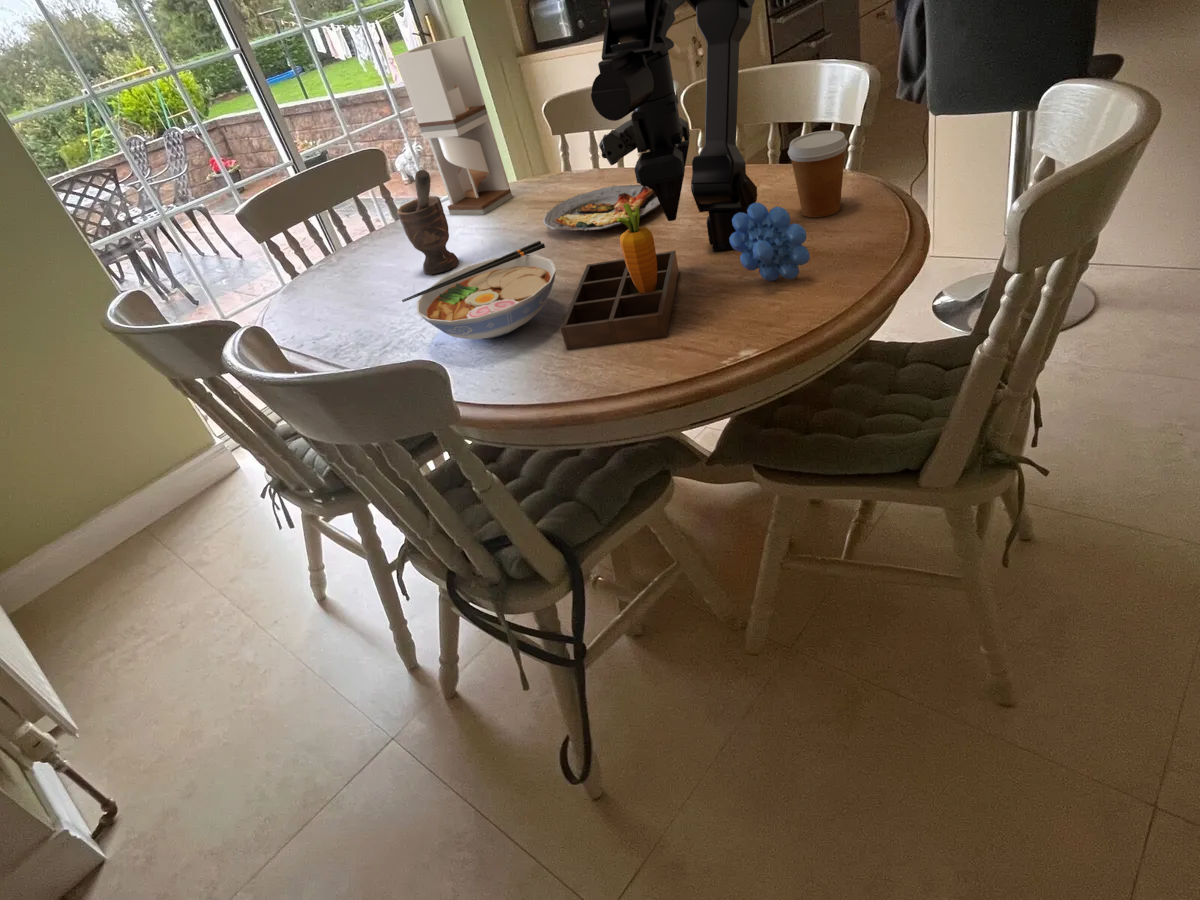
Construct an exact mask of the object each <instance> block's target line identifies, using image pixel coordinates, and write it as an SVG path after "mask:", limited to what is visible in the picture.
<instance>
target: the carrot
mask: <svg viewBox="0 0 1200 900" xmlns="http://www.w3.org/2000/svg"><path fill="white" fill-rule="evenodd" d="M623 207H624V209H625V210H626V212H627V214H628V216H629V217H630V219H629V218H628V217H625V218H617V222H620V223H623V224H622V225H625V226H626V227H627V228H628V229H627V230H625V231H624V232H623V233H621V235H620V236H619V244H620V248H621V252H622V255H623V259H624V260H625V263H626V266H627V269H628V271H629V274H630V276H631V278H632V281H633V283H634V285H635V286H636V288H637V289H638V291H639V293H647V292H654V291H655V289H656V283H657V258H656V254H657V252H656V245H655V239H654V234H653V233H652V231H651V230H650V229H649V228H648V227H647V226H640V212H639V208H638V207H635V212H633V211H632V209H631V207H630V206H629V204H628V203H625V204H624V205H623ZM630 220H631V221H630Z"/></svg>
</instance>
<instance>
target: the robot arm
mask: <svg viewBox="0 0 1200 900" xmlns="http://www.w3.org/2000/svg"><path fill="white" fill-rule="evenodd" d="M686 2H687V4H688V5H689V6H690V7H691V8H692V10H693V11H694V12H695V13H696V25H697V27H698V28H699V30H700V33H701V34H702V35H703V38H704V40H705V42H706V78H705V81H706V82H705V124H704V125H705V126H704V146H703V148H702V149H701V151H700V153H699V155H695V156H693V158H692V161H691V164H692V165H691V169H692V171H691V172H692V174H691V182H690V189H691V194H692V197H693V199H694V203H695V205H696V207H697V211H698V213H706V212H707V213H708V216H706V217H707V218H706V228H707V235H708V241H709V242H708V243H709V245H710V246H712V248H711V249H712V252H713V253H716V252H722V251H728V250H729V251H730V250H734V249H733V248H732V246H731V244H730V240H729V238H730V236H731V234H732V233H734V232H736V230H735V228H734V227H733V224H732V219H733V216H734V215H735V214H737V213H739V212H741V213H746V214H747V215H748V213H747V209H748V207H749V206H750V205H751V204H753V203H754V202H756V203H757V201H758V187H757V185H756V184H755V183H754V182H753V180H752V179H751V178H750V177H749V176H748V174H747V169H746V168H747V167H746V160H745V159H744V157H743V155H742V154H741V151H740V150H739V148H738V146H737V124H738V123H737V122H738V96H739V92H738V91H739V64H740V43H741V41H742V39H743V37H744V35H745V34H746V32H747V30H748V28H749V26H750V25H751V22H752V14H753V6H754V4H755V2H756V1H755V0H609V1H608V8H607V11H606V16H605V25H604V33H603V42H602V50H601V59H602V60H601V61H599V62H598V64H597V67H598V71H599V74H598V75H596V77H595V78H594V80H593V82H592V86H591V93H590V99H591V102H592V105H593V107H594V108H595V111H596V112H597V114H599V115H600V116H601V117H603V118H604V119H605V120H608V121H611V122H613V121H614V122H615V121H619V120H622V119H623V118H625V117H626V116H628V115H630V114H631V115H630V117H631V118H630V119H629V120H626V121H625V122H624V123H622V124H621V125H619V126H618V127H616V128H615V129H611V130H610V132H609V133H606V134H603V136H602V138H601V139H600V142H599V144H598V147H599V149H600V151H601V158H603V159H606V161H607V162H608V164H609V165H610V166H614V165H615V164H617V163H619V161H620V160H621V159H622V158H624V157H626V156H627V155H628V154H631V153H632V152H634V151H635V150H636V151H637V153H638V154H640V153H641V154H640V156H639V157H638V159H637V160H636V162H635V166H634V169H633V170H634V174H635V179H636V184H638V185H642V186H646V187H648V188H650V189H652V190H653V191H654V192H655V194H656V196H657V198H658V200H659V203H660V205H659V206H660V207H661V209H662V211H663V214H664V216H665V218H666V219H667V221H668V222H675V221H676V220H677V216H678V210H679V205H680V199H681V194H682V188H683V187H682V186H683V182H684V179H685V178H684V177H685V172H686V164H687V158H688V152H689V146H690V137H691V134H690V128H689V122H687V120H685V119H684V118H682V117H681V116H680V114H679V113H680V112H679V108H678V107H679V106H678V105H679V96H678V94H676V90H675V89H676V88H675V84H674V83H675V82H674V78H673V77H674V76H673V72H672V71H673V70H672V66H671V60H670V59H671V58H670V54H669V50H671V49H673V48H674V47H675V42H674V41H673V39H671V38H669V37H668V36H667V33H668V31H669V30H670V28H671V27H672V26H673V24H674V23H675V21H676V15H675V12H676V10H677V9H678V8H679V7H680V6H682V5H683V4H684V3H686ZM683 139H684V140H683Z"/></svg>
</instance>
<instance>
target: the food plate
mask: <svg viewBox="0 0 1200 900" xmlns="http://www.w3.org/2000/svg"><path fill="white" fill-rule="evenodd" d="M625 203H628V204H629V206H630V207H631V209H632V211H633V212H635V207H638V208H639V212H640V218H644V217H645V216H647V214H649V213H651V212H652V211H654V210H655V209H657V208H658V207H659V206H661V205H660V203H659V200H658V198H657V196H656V194H655V192H654V191H653V190H652V189H650V188H648V187H646V186H642V185H641V184H626V185H625V184H621V185H612V186H607V187H601V188H598V189H594V190H591V191H589V192H588V191H587V192H584V193H581V194H578V195H575V196H572V197H570V198H567V199H565V200H562V201H561V202H559V203H557V204H556V205H554V207H552V208H551V209H549V210H548V211H547V212H546V213H545V215H544V218H543V219H542V220H543V225H545V227H547V228H549V229H551V230H565V231H570V232H571V231H583V232H587V231H595V230H598V231H599V230H607V229H611V228H614V227H617V226H621V225H624V224H623V223H620V222H617V218H625V217H628V218H629V219H630V217H629V216H628V214H627V212H626V210H625V209H624V207H623V205H624V204H625ZM630 221H631V220H630Z"/></svg>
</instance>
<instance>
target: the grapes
mask: <svg viewBox="0 0 1200 900" xmlns="http://www.w3.org/2000/svg"><path fill="white" fill-rule="evenodd" d="M747 213H748V215H747V214H746V213H741V212H739V213H737V214H735V215H734V216H733V219H732V224H733V227H734V228H735V230H736V232H734V233H732V234H731V236H730V238H729V240H730V244H731V246H732V248H733V249H732V250H734V251H737V252H738V253H741V254H740V256H739V261H740V263H741V266H742V267H743V268H744V269H746V270H747V271H755V270H758V271H759V272H758V273H759V275H760V276H761V278H762V279H764V280H765V281H767V282H774V281H776V280H778V279H779V277H780V276H781V277H782V278H784V279H785V280H794V279H795V278H797V277H798V276H799V274H800V269H799V266H804V265H806V264H807V263H809V262H810V259H811V255H810V251H809V249H808V247H807V246H804V245H803V244H804V243H805V242H806V240H807V231H806V229H805V228H804V227H803V226H802V225H801V224H799V223H795V222H793V223H791V216H790V213H789V212H788V210H786V209H785V208H784V207H782V206H775V207H772V208H771V209H770V210H768V208H767V206H765V204H763V203H760V202H757V201H756V202H754V203H753V204H751V205H750V206H749V207H748V209H747Z"/></svg>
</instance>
